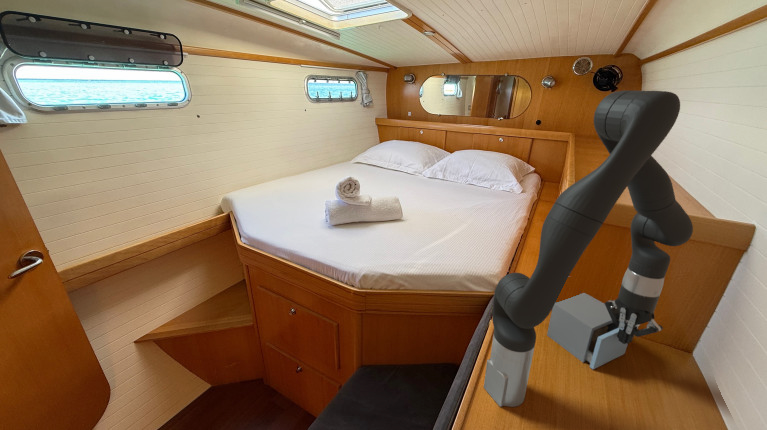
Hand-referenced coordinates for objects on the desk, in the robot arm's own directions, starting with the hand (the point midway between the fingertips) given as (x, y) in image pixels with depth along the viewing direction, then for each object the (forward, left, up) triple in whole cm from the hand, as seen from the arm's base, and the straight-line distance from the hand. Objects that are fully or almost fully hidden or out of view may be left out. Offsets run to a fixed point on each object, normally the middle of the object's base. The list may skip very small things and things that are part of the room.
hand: (623, 341), depth 81 cm
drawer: (0, +8, -9) cm, 12 cm away
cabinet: (0, +11, -9) cm, 14 cm away
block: (0, +8, -8) cm, 11 cm away
